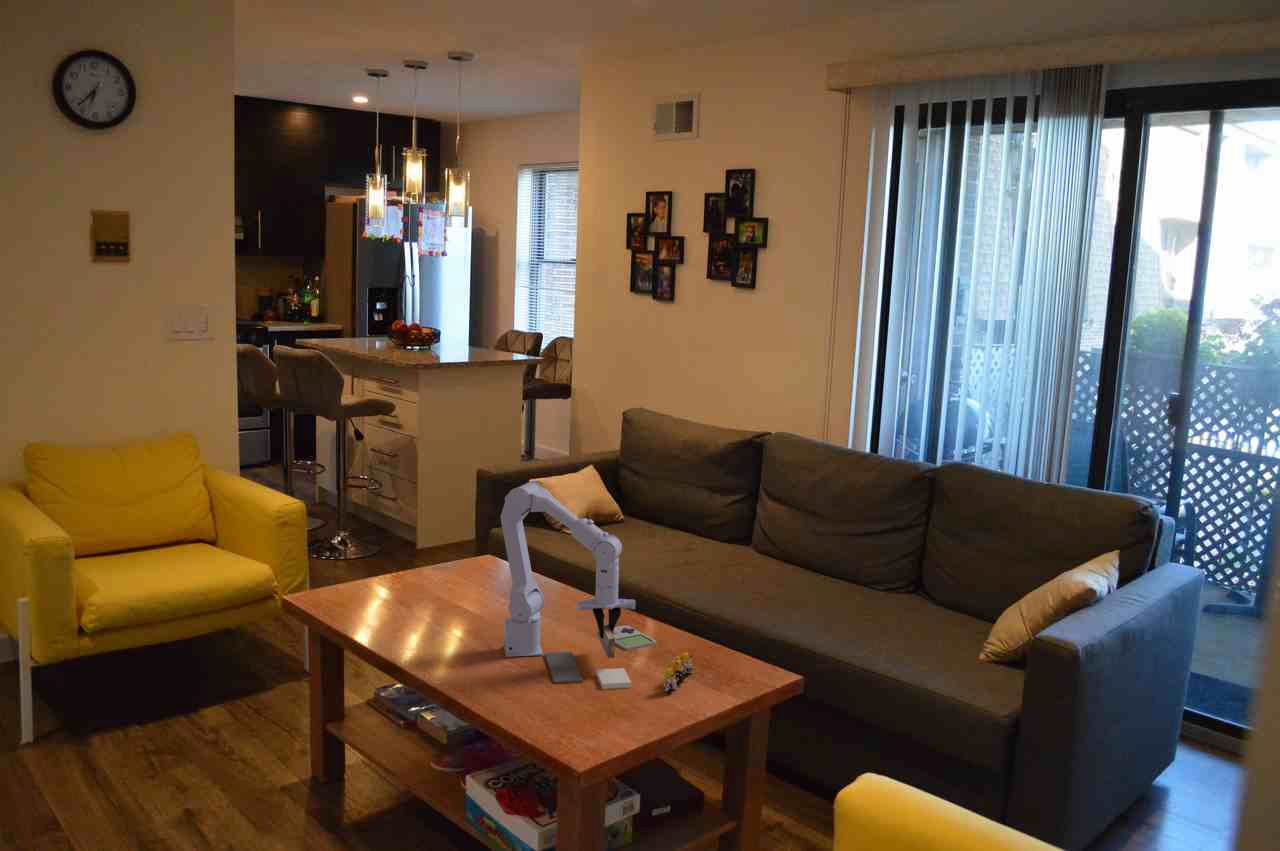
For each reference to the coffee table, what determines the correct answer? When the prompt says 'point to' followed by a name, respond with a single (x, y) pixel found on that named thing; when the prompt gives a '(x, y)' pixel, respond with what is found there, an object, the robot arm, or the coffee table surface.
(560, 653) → the rubber mat
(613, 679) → the tile
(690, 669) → the figurine set
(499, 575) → the coffee table surface
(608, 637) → the beige bar
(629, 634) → the handheld gaming console
